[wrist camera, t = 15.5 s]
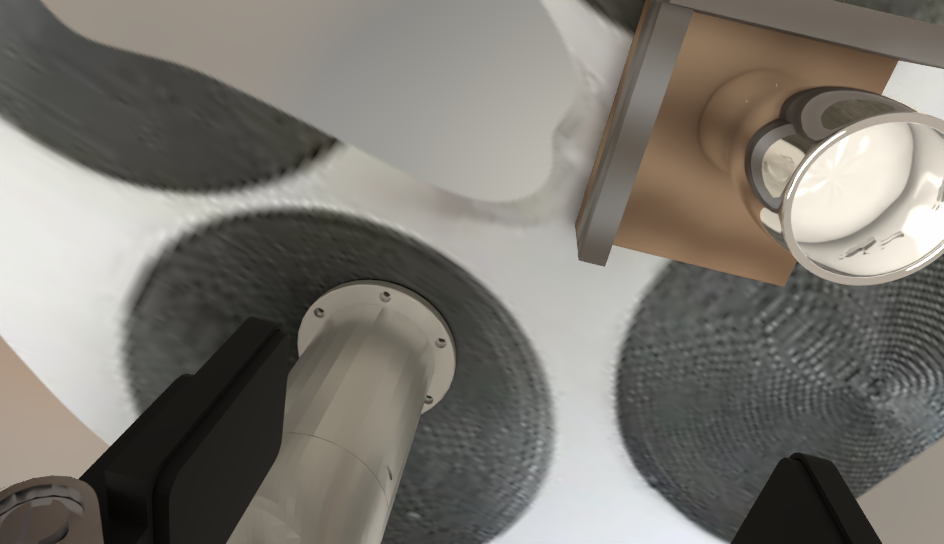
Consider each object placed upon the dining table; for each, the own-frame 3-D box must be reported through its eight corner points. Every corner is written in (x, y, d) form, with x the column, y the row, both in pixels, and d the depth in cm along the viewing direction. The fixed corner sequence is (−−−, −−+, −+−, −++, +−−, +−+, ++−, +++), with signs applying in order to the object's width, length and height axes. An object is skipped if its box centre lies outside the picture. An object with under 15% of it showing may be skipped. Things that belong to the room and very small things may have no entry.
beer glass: (842, 117, 34) (1033, 197, 21) (744, 203, 37) (856, 323, 23) (760, 34, 33) (906, 61, 19) (665, 130, 36) (735, 212, 22)
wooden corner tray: (773, 273, 41) (821, 333, 33) (575, 225, 41) (580, 274, 34) (894, 27, 34) (987, 36, 26) (654, -29, 34) (682, -36, 27)
